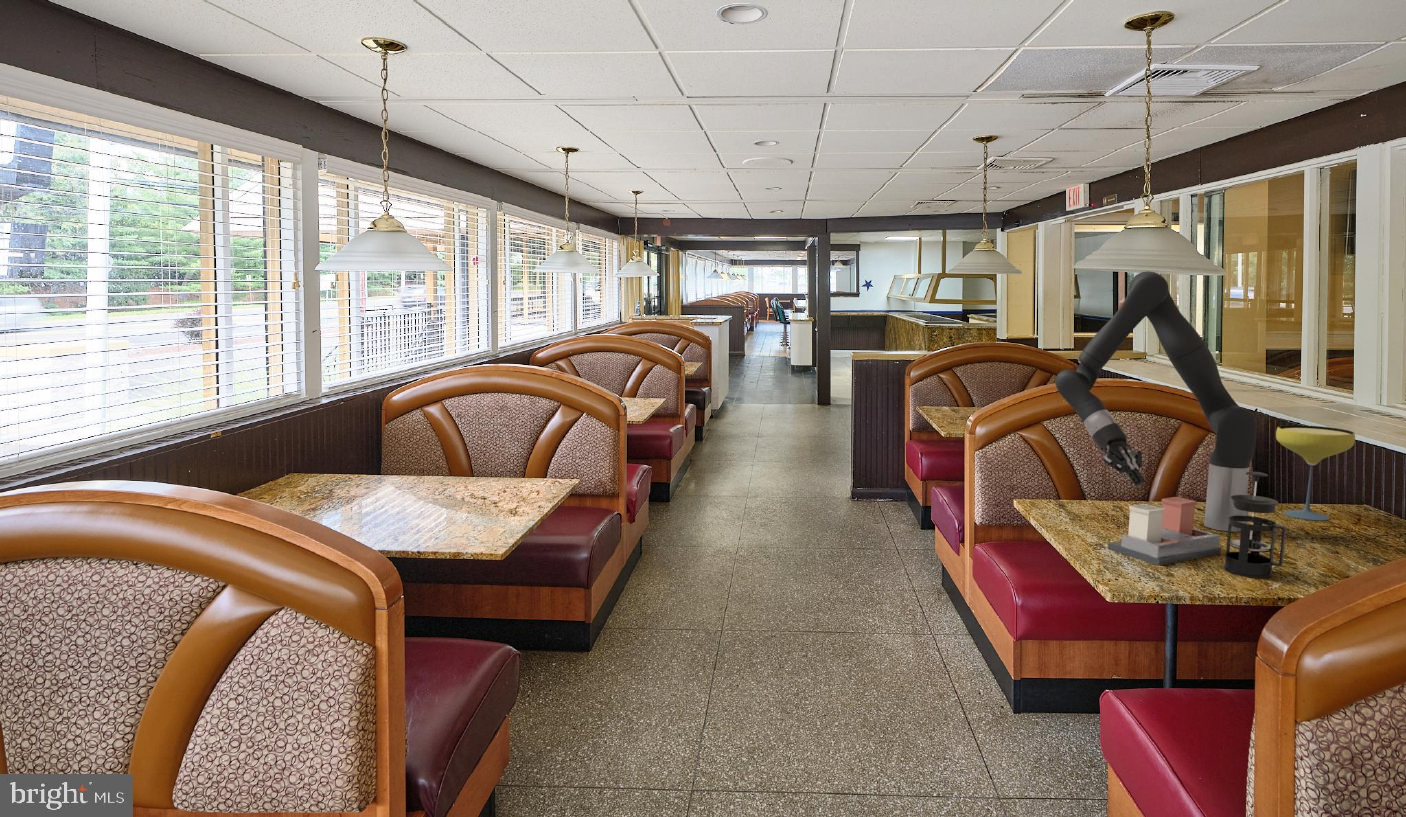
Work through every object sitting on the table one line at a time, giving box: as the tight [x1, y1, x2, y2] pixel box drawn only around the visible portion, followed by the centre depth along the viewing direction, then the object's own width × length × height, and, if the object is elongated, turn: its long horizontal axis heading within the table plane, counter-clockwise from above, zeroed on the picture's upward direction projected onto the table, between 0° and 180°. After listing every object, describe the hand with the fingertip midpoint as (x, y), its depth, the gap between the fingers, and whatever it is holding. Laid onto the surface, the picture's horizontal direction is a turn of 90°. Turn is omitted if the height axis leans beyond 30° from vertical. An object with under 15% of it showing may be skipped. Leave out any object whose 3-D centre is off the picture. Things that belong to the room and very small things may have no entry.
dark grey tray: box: [1107, 527, 1222, 566], centre depth 207 cm, size 14×22×4 cm, turn 115°
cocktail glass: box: [1275, 424, 1356, 522], centre depth 240 cm, size 18×18×25 cm
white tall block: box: [1127, 503, 1165, 544], centre depth 204 cm, size 5×5×10 cm
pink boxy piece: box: [1161, 496, 1197, 536], centre depth 211 cm, size 5×5×10 cm
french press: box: [1223, 471, 1287, 579], centre depth 190 cm, size 12×9×23 cm
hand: (1140, 483), depth 220 cm, fingers closed
